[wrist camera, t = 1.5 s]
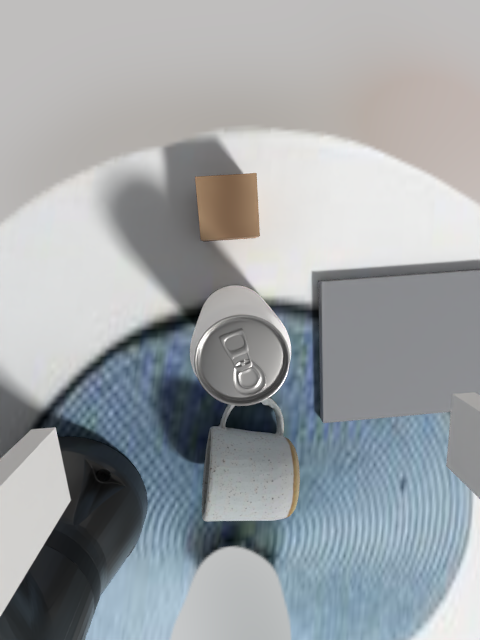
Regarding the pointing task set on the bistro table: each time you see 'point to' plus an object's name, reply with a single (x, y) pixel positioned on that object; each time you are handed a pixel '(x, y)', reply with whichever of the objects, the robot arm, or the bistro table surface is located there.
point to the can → (239, 347)
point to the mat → (398, 344)
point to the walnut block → (227, 206)
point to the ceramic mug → (249, 473)
